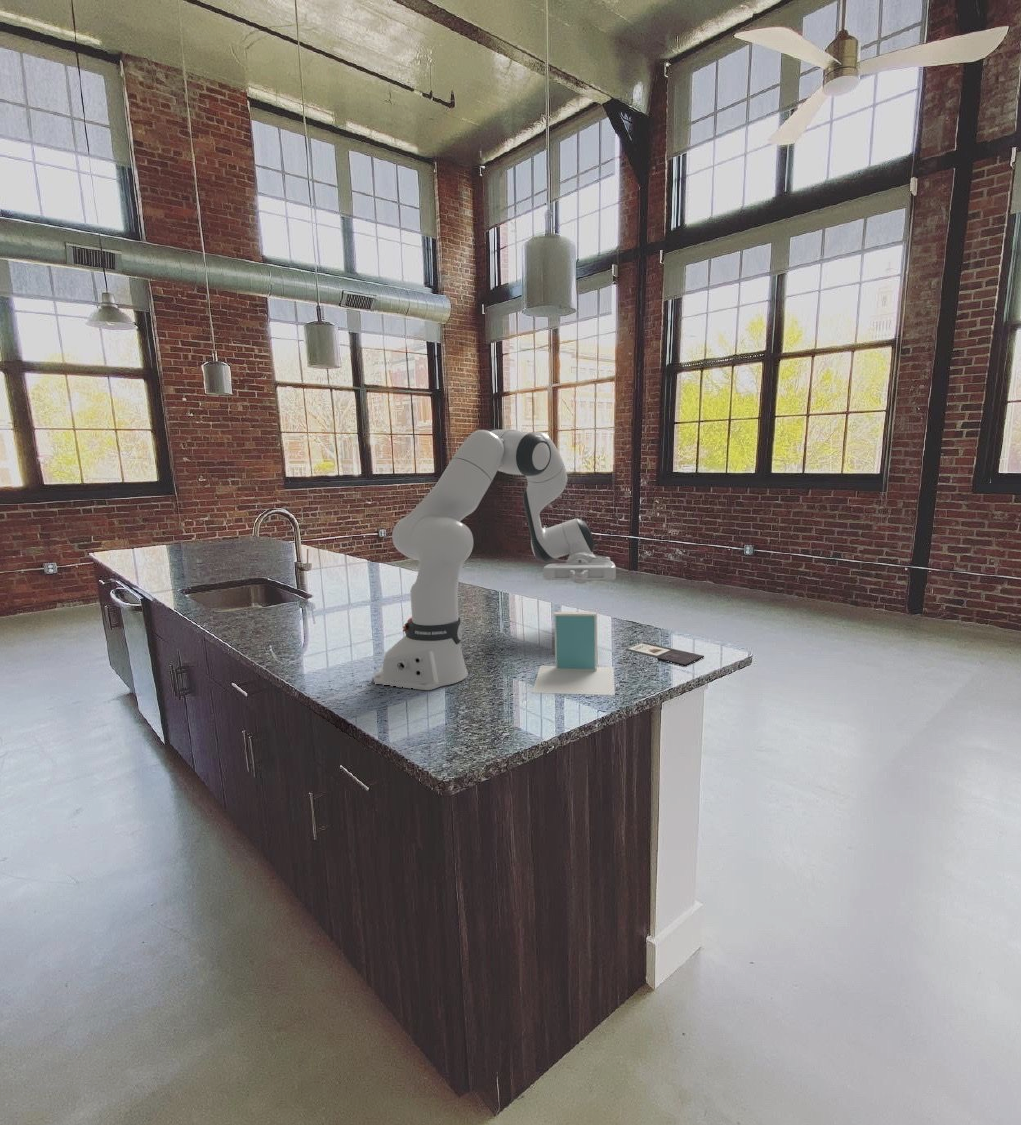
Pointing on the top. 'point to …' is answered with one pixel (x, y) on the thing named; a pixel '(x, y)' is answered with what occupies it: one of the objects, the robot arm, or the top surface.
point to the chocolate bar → (666, 653)
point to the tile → (575, 641)
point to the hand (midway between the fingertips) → (578, 576)
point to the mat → (575, 681)
